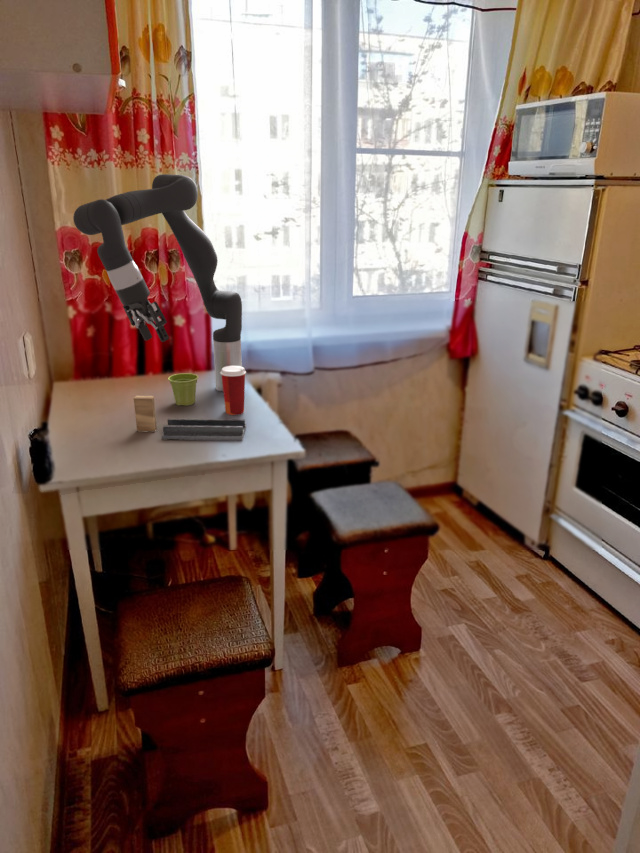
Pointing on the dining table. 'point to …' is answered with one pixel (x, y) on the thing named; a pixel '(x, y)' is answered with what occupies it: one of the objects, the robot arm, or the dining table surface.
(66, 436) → the dining table surface
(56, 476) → the dining table surface
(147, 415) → the wooden block
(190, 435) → the door track
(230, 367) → the paper cup
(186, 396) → the plant pot
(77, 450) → the dining table surface
